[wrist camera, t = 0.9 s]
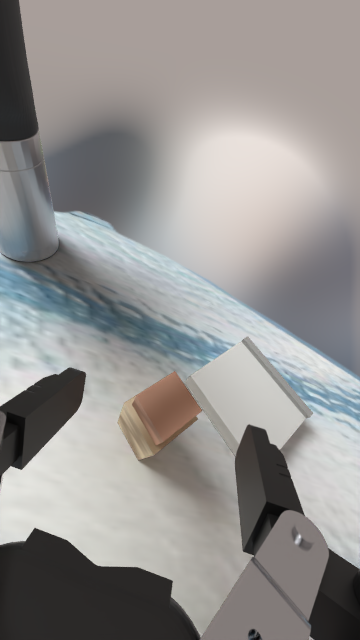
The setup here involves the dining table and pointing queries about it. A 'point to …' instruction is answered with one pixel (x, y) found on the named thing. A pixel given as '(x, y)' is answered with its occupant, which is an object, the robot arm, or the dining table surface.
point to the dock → (247, 396)
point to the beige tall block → (157, 415)
